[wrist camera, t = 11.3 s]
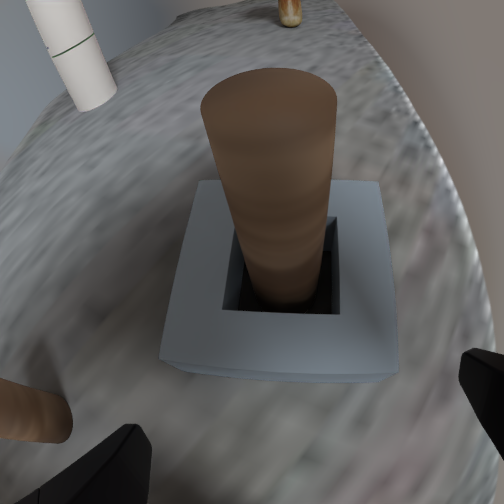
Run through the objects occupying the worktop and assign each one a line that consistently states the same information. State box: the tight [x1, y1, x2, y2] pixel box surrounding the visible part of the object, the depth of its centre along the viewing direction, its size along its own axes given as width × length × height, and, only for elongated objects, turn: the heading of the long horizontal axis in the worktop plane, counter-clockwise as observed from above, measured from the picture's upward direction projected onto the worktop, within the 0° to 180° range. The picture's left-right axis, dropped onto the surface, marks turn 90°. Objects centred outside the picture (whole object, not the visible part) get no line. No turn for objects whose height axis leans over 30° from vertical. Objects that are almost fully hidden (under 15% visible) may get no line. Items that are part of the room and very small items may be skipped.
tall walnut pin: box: [200, 68, 337, 314], centre depth 14 cm, size 4×4×14 cm
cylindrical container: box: [25, 0, 117, 112], centre depth 29 cm, size 7×7×25 cm
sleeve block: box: [158, 179, 399, 383], centre depth 18 cm, size 12×12×4 cm
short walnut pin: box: [0, 378, 73, 444], centre depth 14 cm, size 4×4×6 cm
